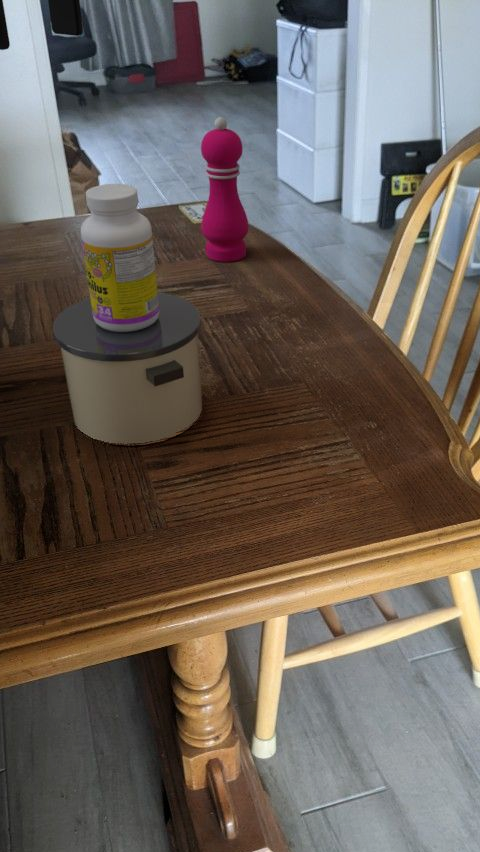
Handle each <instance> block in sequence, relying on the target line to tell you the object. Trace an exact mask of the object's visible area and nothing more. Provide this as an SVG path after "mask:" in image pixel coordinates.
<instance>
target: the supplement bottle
mask: <svg viewBox="0 0 480 852" xmlns="http://www.w3.org/2000/svg"><path fill="white" fill-rule="evenodd" d="M85 199H86V206H87V207H88V210H89V211H90V215H89V216H88V217H87V218H86V219H85V220H84V221H83V222H82V223H81V227H80V237H81V243H82V250H83V257H84V264H85V273H86V278H87V279H86V280H87V284H88V285H87V286H88V292H89V298H90V299H91V306H92V312H93V318H94V320H95V322H96V323H97V324H98V325H99V326H100V327H102V328H104V329H106V330H109V331H114V332H131V331H137V330H140V329H144V328H146V327H148V326H150V325H152V324H153V323H154V322H155V321H156V320H157V319H158V316H159V301H158V292H159V291H158V283H157V282H158V281H157V273H156V263H155V262H156V261H155V252H154V241H153V229H152V225H151V222H150V221H149V219H148V218H147V217H146V215H143V213H140V212H138V209H137V208H138V206H139V195H138V190H137V188H136V187H135V186H133V185H130V184H128V183H127V184H126V183H106V184H105V183H104V184H100V185H96V186H93V187H90V188H88V189H87V190H86V191H85Z"/></svg>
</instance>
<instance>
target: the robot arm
mask: <svg viewBox="0 0 480 852" xmlns="http://www.w3.org/2000/svg"><path fill="white" fill-rule="evenodd" d="M47 2H48V10H49V18H50V25H51V26H50V27H51V30H52V32H53V33H54V34H56V35H65V36H75V37H77V36H78V37H79V36H82V35H83V33H84V27H83V21H82V20H83V19H82V12H81V11H82V9H81V2H80V0H47ZM9 36H10V35H9V32H8V25H7V18H6V14H5V6H4V1H3V0H0V50H1V51H4V50H8V49H9V48H10V46H11V43H10V37H9Z"/></svg>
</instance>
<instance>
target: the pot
mask: <svg viewBox="0 0 480 852" xmlns="http://www.w3.org/2000/svg"><path fill="white" fill-rule="evenodd" d="M158 301H159V316H158V319H157V320H156V321H155V322H154V323H153V324H152V325H150V326H148V327H146V328H144V329H140V330H137V331H131V332H114V331H109V330H106V329H104V328H102V327H100V326H99V325H98V324H97V323H96V322H95V320H94V318H93V312H92V306H91V299H90V297H87V298H85V299H82V300H79V301H78V302H75V303H73V304H71V305H70V306H67V308H65V309H63V311H61V312H60V313H59V314H58V315H57V317H56V318H55V320H54V322H53V325H52V332H53V337H54V339H55V342H56V343H57V345H58V346H59V347H60V353H61V358H62V363H63V369H64V374H65V380H66V385H67V390H68V396H69V402H70V407H71V412H72V417H73V423H74V425H75V427H76V426H77V427H76V428H77V430H78V429H79V430H80V431H81V432H83V433H84V434H86V435H88V436H90V437H91V438H93V439H97V440H101V441H104V442H109V443H116V444H117V443H119V444H120V443H122V444H123V443H124V444H127V443H130V444H131V443H145V442H150V441H156V440H160V439H163V438H166V437H169V436H171V435H173V434H175V433H176V432H179V431H181V430H182V429H184V428H186V427H188V426H189V425H190V424H192V423H193V422H194V421H195V420H196V419H197V418H198V416H199V415H200V413H201V411H202V412H203V408H202V407H203V395H202V393H203V392H202V380H201V379H202V377H201V365H200V363H201V361H200V347H199V332H200V331H201V328H202V327H201V326H202V320H201V319H202V318H201V313H200V311H199V309H198V308H197V307H196V306H195V305H194V304H193V303H192V302H190V301H189V300H188V299H185V298H183V297H181V296H177V295H175V294H171V293H167V292H160V291H158ZM201 414H202V413H201ZM79 430H78V431H79ZM80 431H79V432H80ZM81 432H80V433H81ZM84 434H83V435H84Z"/></svg>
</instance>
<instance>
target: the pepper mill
mask: <svg viewBox="0 0 480 852" xmlns="http://www.w3.org/2000/svg"><path fill="white" fill-rule="evenodd" d="M227 126H228V121H227V119H225V118H224V117H222V116H219V117H217V118H215V120H214V129H211V130H209V131H208V132H207V133H205V134H204V135H203V138H202V140H201V144H200V152H201V156H202V158H203V159H204V160H205V162H206V165H205V169H206V170H205V171H206V172H205V175H206V177H207V178H208V181H209V195H208V199H207V203H206V205H205V209H204V212H203V214H202V219H201V228H200V229H201V233H202V235H203V237H205V238H206V240H207V242H206V243H205V255H206V257H207V258H208V259H209V260H211V261H215V262H220V263H230V262H236V261H239V260H241V259H243V258H244V257H246V255H247V245H246V244H247V243H246V242H245V240H244V239H245V237H246V236H247V235H248V234H249V220H248V216H247V213H246V211H245V208H244V206H243V204H242V201H241V199H240V196H239V193H238V177H239V176H240V174H241V171H240V164H239V163H238V162H239V161H240V159H241V157H242V155H243V143H242V140H241V137H240V136H239V134H238V133H237V132H235V131H234V130H232V129H229V128H227Z"/></svg>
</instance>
